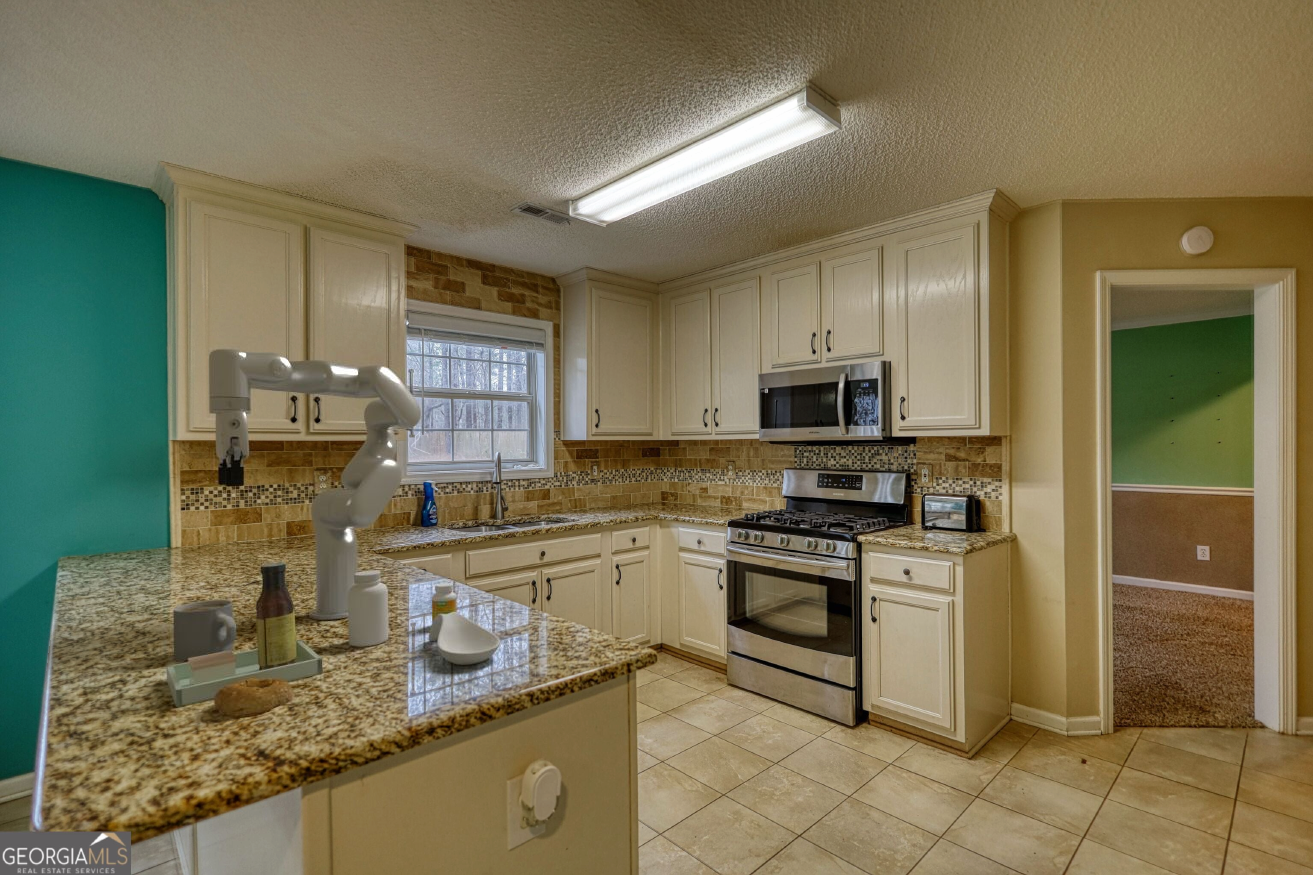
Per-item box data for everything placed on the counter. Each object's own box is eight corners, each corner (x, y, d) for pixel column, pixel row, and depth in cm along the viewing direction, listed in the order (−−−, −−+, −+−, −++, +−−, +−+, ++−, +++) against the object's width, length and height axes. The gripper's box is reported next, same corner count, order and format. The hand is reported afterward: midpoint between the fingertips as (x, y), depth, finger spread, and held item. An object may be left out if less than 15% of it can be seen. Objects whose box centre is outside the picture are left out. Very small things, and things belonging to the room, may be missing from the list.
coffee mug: (164, 657, 130) (164, 608, 130) (218, 643, 138) (218, 597, 138) (196, 668, 123) (195, 616, 123) (251, 653, 131) (250, 604, 132)
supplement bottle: (434, 630, 146) (433, 587, 146) (430, 624, 151) (430, 583, 151) (458, 627, 148) (457, 585, 149) (454, 621, 153) (453, 581, 153)
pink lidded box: (230, 675, 117) (230, 649, 118) (237, 684, 113) (236, 658, 113) (187, 684, 113) (187, 658, 113) (192, 694, 108) (192, 667, 108)
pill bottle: (339, 645, 136) (339, 574, 136) (369, 634, 143) (368, 567, 144) (367, 649, 133) (367, 577, 133) (396, 638, 140) (396, 570, 141)
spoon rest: (510, 662, 125) (509, 625, 125) (450, 676, 117) (450, 637, 117) (463, 635, 143) (463, 603, 143) (410, 646, 136) (409, 612, 136)
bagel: (286, 714, 101) (285, 684, 101) (204, 725, 98) (204, 694, 98) (299, 692, 111) (298, 664, 111) (225, 702, 107) (225, 673, 107)
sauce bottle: (303, 664, 123) (303, 560, 123) (281, 676, 116) (280, 567, 117) (272, 663, 123) (271, 560, 124) (248, 675, 117) (247, 567, 117)
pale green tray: (300, 655, 129) (300, 640, 129) (322, 675, 118) (322, 658, 118) (167, 683, 115) (166, 666, 115) (176, 709, 103) (176, 689, 103)
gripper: (258, 405, 135) (259, 486, 135) (243, 409, 148) (243, 483, 148) (215, 404, 130) (216, 488, 130) (203, 408, 143) (204, 484, 143)
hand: (230, 485), depth 139 cm, fingers open, 9 cm apart
